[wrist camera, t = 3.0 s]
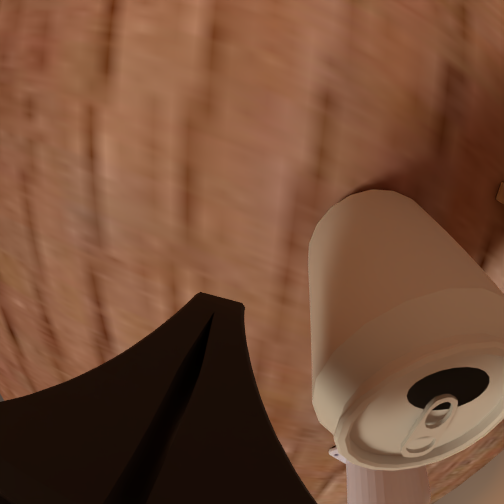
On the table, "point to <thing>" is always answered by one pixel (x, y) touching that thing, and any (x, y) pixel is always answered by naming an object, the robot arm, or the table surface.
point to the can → (401, 335)
